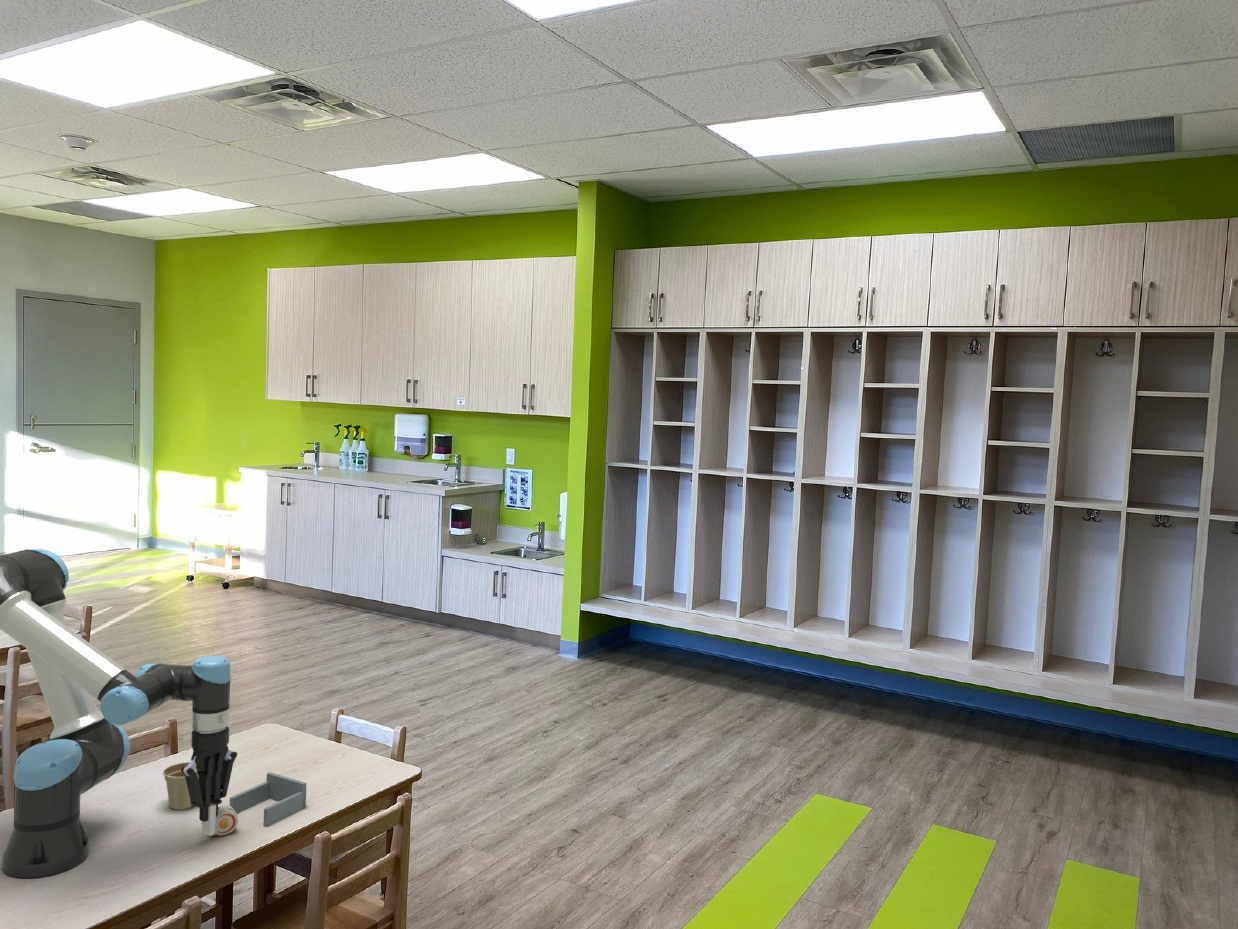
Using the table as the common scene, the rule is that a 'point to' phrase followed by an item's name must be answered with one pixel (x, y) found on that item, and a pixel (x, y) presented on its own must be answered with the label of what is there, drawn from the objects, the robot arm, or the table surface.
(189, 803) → the flower pot
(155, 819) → the table surface
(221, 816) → the roller toy
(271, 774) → the bin
